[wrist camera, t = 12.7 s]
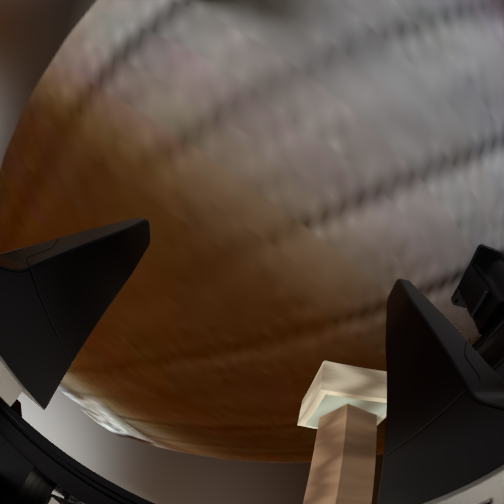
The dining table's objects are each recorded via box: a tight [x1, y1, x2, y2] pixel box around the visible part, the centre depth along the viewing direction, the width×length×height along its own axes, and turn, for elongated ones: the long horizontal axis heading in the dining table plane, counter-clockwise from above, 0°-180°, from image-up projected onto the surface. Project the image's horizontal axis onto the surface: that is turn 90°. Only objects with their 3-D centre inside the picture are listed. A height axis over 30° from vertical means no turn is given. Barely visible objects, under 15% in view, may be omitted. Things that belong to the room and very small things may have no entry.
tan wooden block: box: [303, 403, 377, 504], centre depth 23 cm, size 5×5×13 cm
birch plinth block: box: [298, 361, 387, 429], centre depth 30 cm, size 10×10×4 cm
